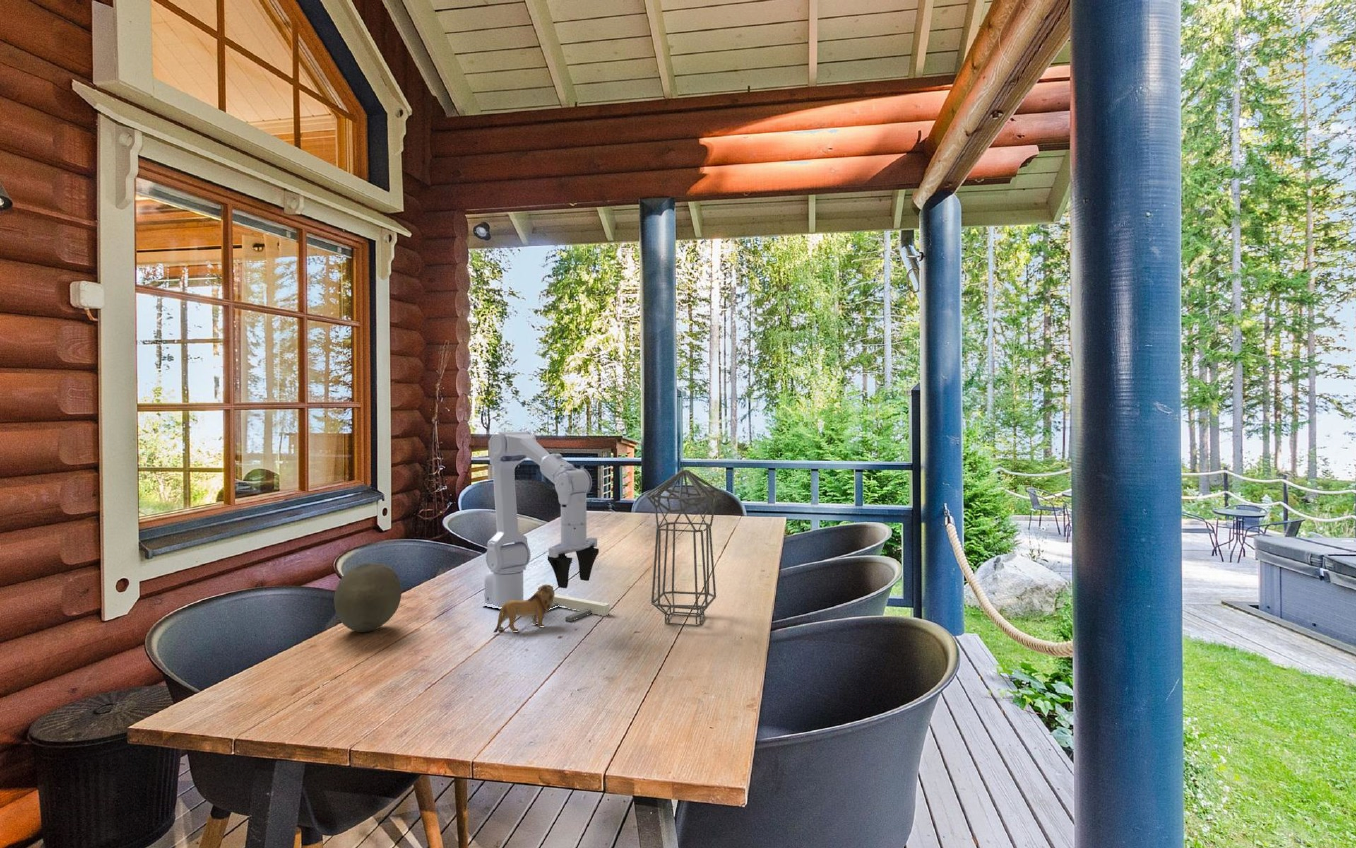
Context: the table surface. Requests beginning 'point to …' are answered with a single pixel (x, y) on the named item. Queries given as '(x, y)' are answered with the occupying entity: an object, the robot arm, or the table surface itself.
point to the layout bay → (581, 606)
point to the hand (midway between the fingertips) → (574, 583)
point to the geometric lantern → (701, 498)
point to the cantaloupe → (367, 596)
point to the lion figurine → (527, 607)
